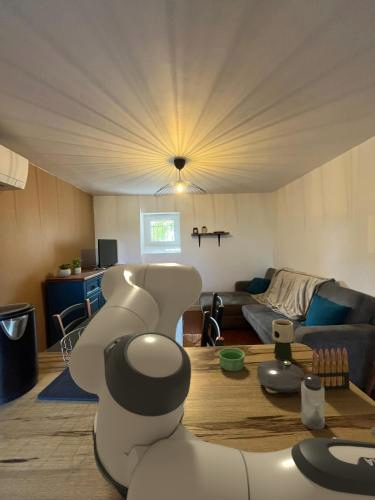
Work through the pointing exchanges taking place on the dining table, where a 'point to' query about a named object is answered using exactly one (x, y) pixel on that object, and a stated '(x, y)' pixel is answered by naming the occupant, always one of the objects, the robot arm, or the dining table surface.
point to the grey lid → (280, 376)
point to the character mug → (282, 338)
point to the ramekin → (231, 359)
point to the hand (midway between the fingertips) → (354, 434)
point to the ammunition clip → (331, 369)
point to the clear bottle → (312, 402)
